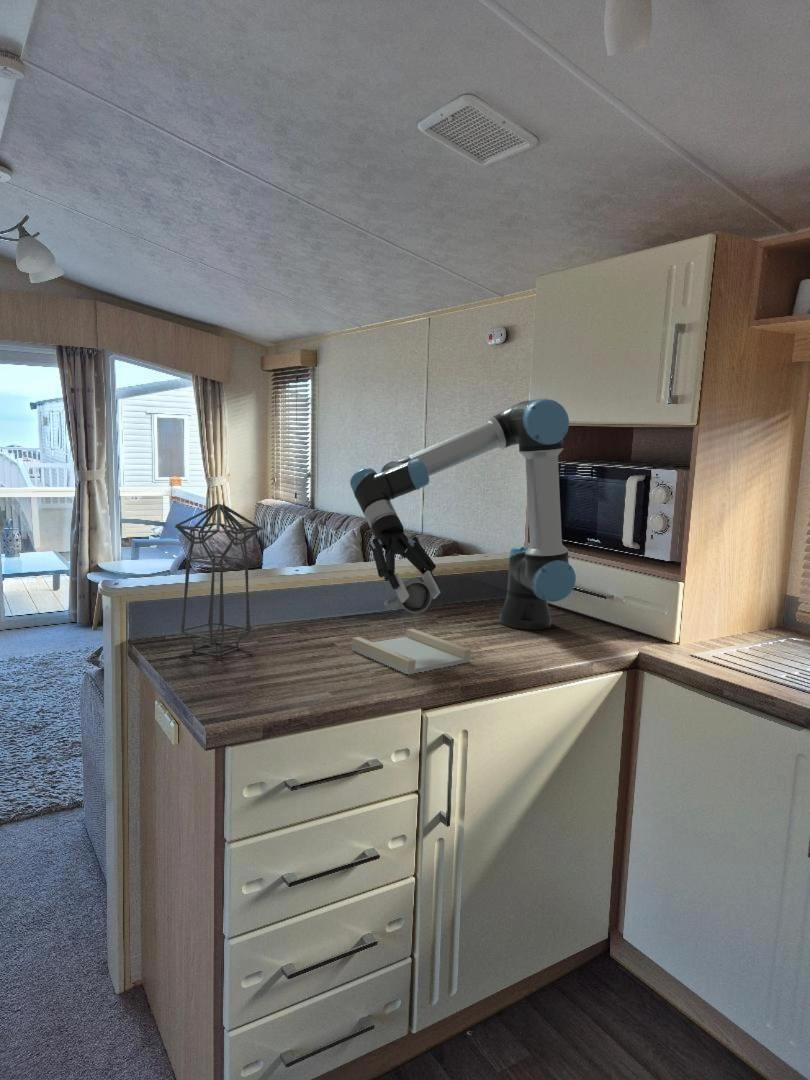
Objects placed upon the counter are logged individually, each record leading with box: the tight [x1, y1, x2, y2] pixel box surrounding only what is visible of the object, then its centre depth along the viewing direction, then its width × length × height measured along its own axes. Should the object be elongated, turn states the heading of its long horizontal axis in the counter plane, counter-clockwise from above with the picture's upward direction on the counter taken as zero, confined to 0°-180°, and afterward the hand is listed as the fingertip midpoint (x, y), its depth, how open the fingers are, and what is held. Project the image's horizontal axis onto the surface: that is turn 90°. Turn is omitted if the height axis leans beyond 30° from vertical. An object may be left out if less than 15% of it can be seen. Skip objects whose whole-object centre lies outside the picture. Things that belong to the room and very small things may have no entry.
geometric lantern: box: [174, 503, 263, 657], centre depth 170 cm, size 16×16×35 cm
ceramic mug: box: [383, 577, 433, 614], centre depth 173 cm, size 11×8×8 cm
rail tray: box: [351, 628, 472, 675], centre depth 174 cm, size 19×22×3 cm
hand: (421, 597), depth 170 cm, fingers closed on ceramic mug, 9 cm apart
